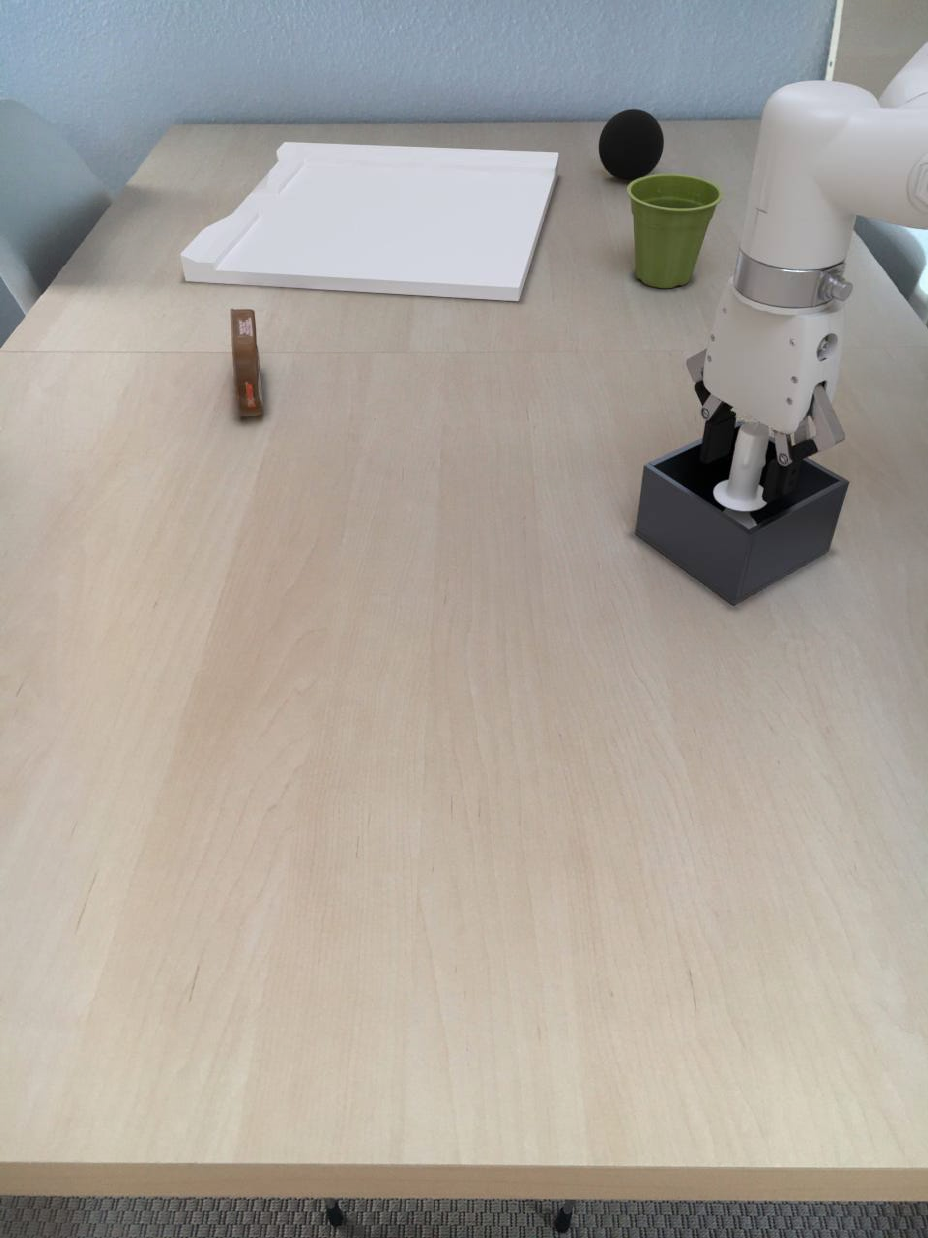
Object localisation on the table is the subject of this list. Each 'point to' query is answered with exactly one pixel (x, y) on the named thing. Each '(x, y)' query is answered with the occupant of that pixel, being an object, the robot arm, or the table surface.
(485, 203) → the tray
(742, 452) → the candle
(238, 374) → the brown thin box
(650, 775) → the table surface
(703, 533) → the bin
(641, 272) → the plant pot
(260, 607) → the table surface
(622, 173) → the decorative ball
